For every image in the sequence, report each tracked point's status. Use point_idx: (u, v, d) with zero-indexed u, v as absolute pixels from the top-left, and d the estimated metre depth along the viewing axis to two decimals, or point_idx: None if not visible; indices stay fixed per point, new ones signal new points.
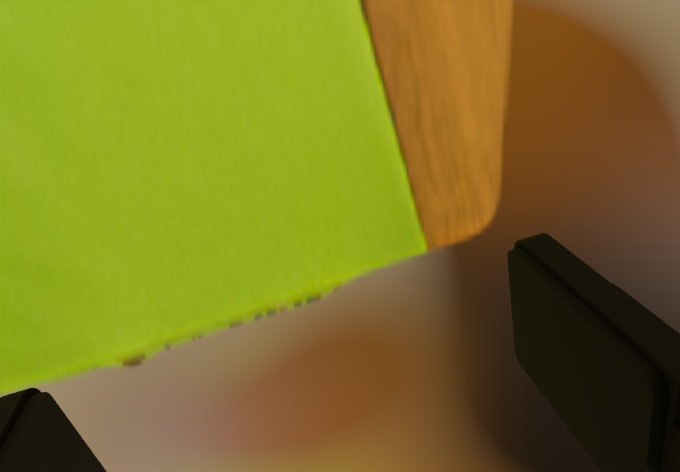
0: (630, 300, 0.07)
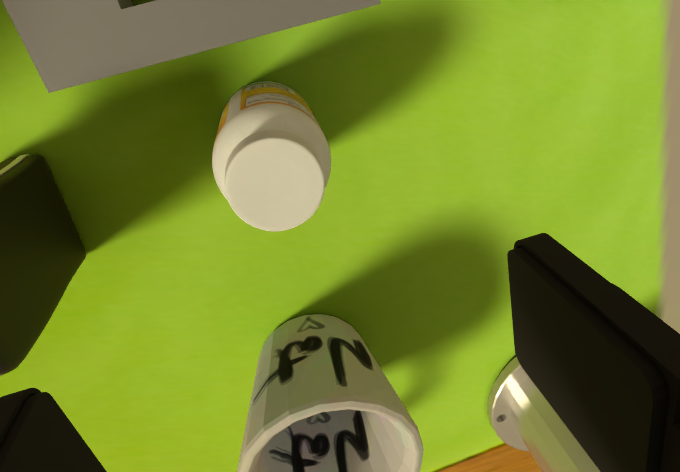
0: (630, 300, 0.07)
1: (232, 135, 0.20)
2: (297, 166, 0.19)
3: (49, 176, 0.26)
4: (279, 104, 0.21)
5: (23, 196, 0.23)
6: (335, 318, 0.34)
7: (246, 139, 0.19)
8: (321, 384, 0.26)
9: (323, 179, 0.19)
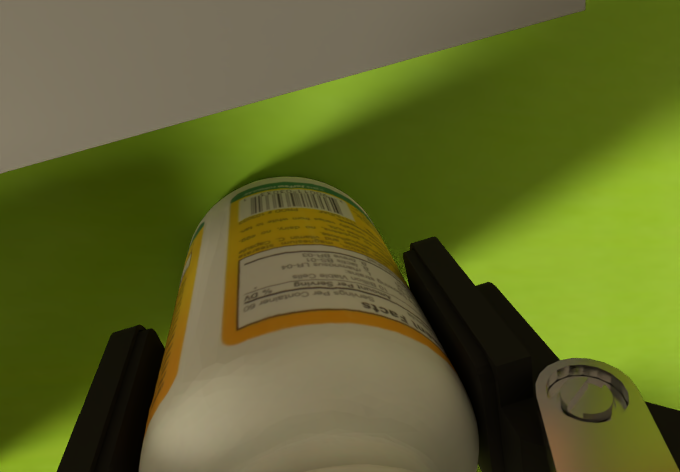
0: (483, 297, 0.08)
1: (195, 451, 0.06)
2: None
3: None
4: (343, 327, 0.07)
5: None
6: None
7: None
8: None
9: None
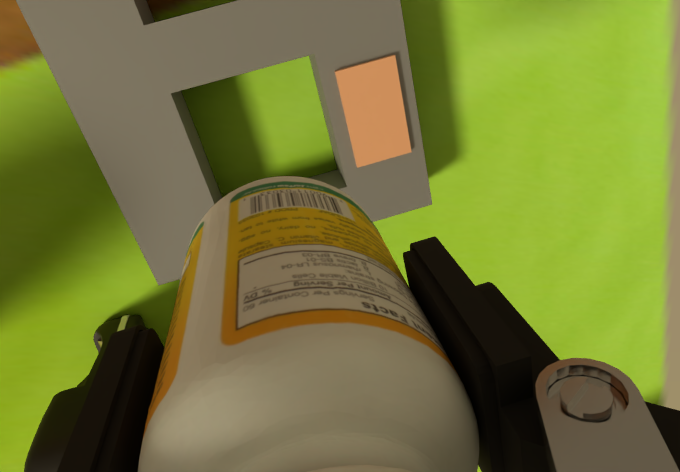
0: (483, 298, 0.08)
1: (194, 452, 0.06)
2: None
3: None
4: (343, 327, 0.07)
5: None
6: None
7: None
8: None
9: None
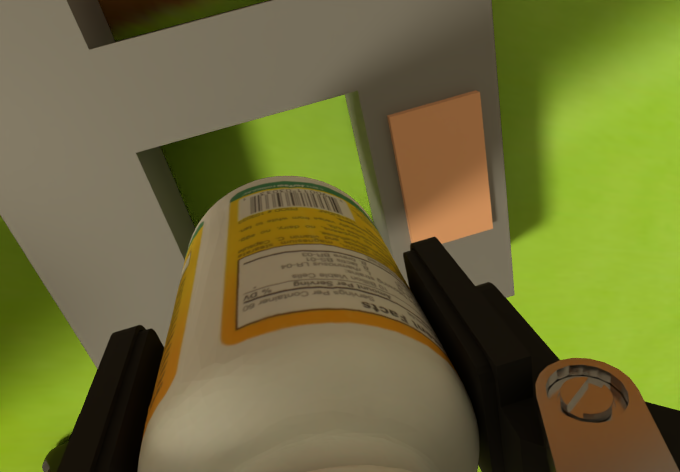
0: (483, 297, 0.08)
1: (194, 452, 0.06)
2: None
3: None
4: (343, 327, 0.07)
5: None
6: None
7: None
8: None
9: None
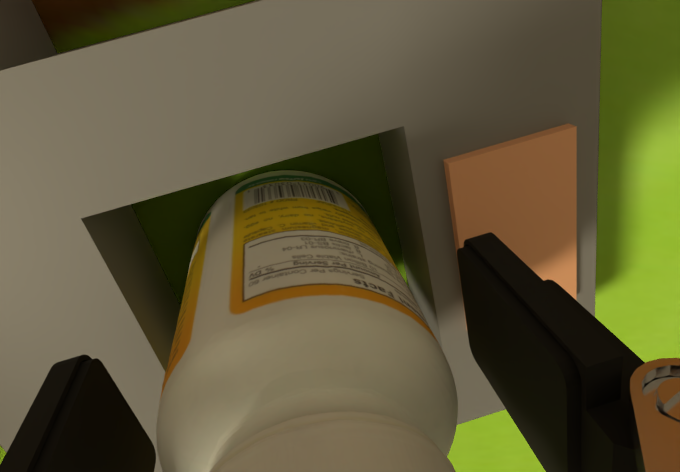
0: (556, 295, 0.07)
1: (207, 403, 0.07)
2: None
3: None
4: (336, 299, 0.08)
5: None
6: None
7: (247, 468, 0.06)
8: None
9: None
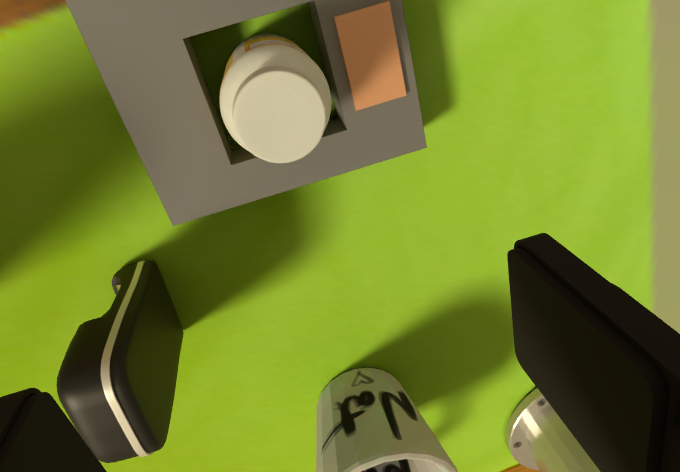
0: (630, 300, 0.07)
1: (239, 74, 0.22)
2: (300, 99, 0.20)
3: (160, 277, 0.33)
4: (281, 45, 0.22)
5: (151, 303, 0.30)
6: (380, 371, 0.40)
7: (252, 74, 0.20)
8: (381, 437, 0.32)
9: (324, 111, 0.21)
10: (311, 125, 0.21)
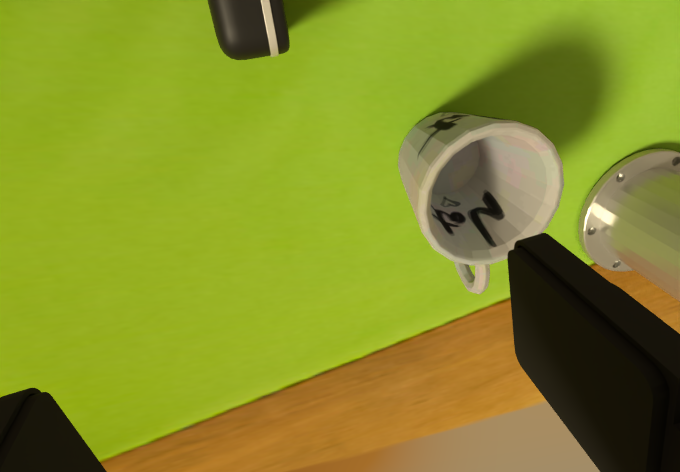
0: (630, 300, 0.07)
1: None
2: None
3: None
4: None
5: None
6: None
7: None
8: (487, 119, 0.32)
9: None
10: None
